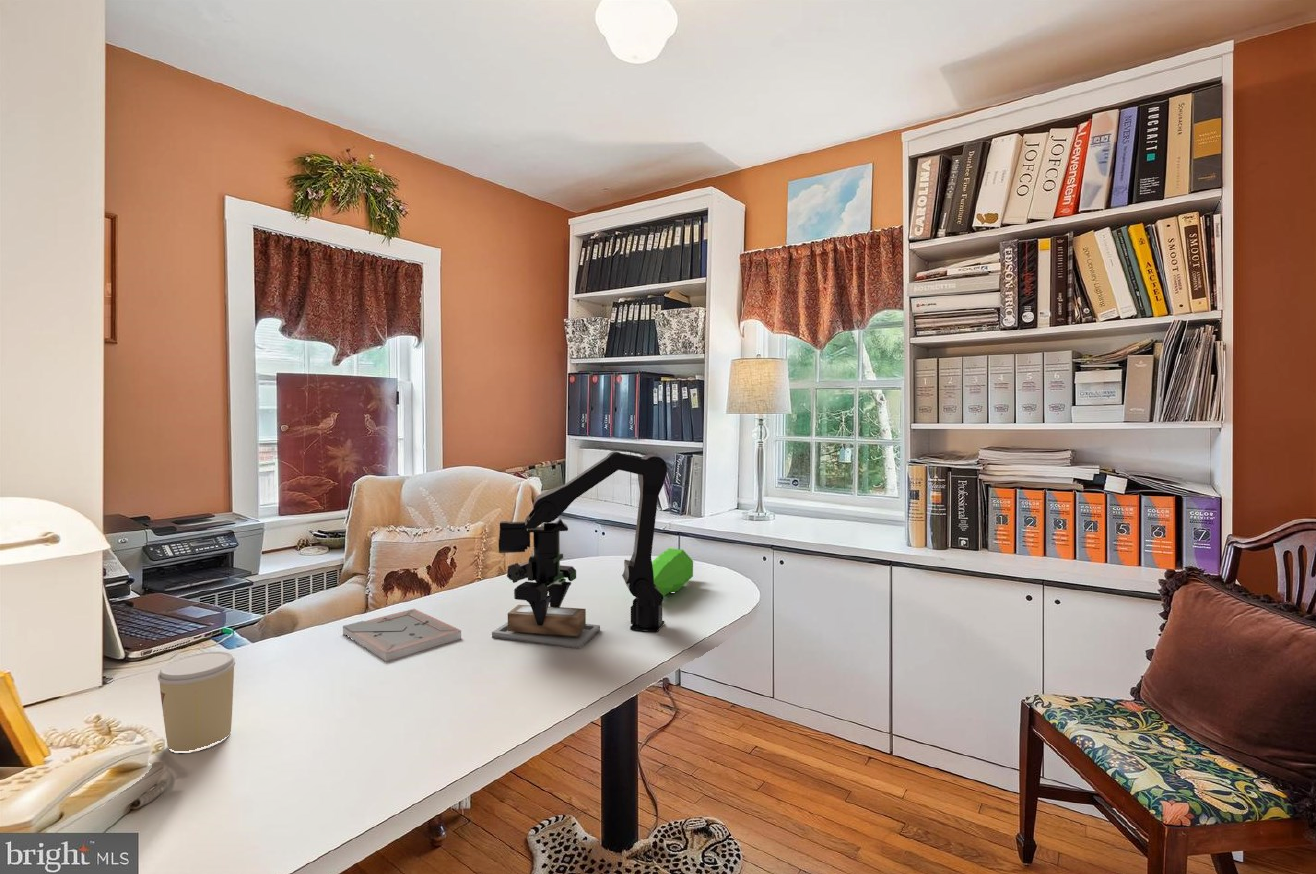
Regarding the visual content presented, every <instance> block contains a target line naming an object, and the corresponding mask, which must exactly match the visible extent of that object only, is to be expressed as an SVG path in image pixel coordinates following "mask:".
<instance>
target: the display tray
mask: <svg viewBox="0 0 1316 874" xmlns="http://www.w3.org/2000/svg"><path fill="white" fill-rule="evenodd" d="M599 632H601V625H600V624H599V625H598V624H592V623H586V627H585V628H584V629H583V630H582V631H581V633H580V634H579V635H578V636H569V635H555V634H541V633H526V632H512V631H508V621H507V622H506V623H504V624H502V625H501V626H499V627H498V628H496V629H494V630H493V631H492V632H491V638H494V639H502V640H510V641H516V642H517V641H518V642H524V643H532V644H540V645H541V644H542V645H548V646H557V647H564V648H569V649H570V648H572V649H578V650H581V649H582V648H583V647H584V646H585V645H586V644H587V643H588V642H589V641H590V640H592V639H593V638H594V637H595V636H596V635H598V633H599Z"/></svg>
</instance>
